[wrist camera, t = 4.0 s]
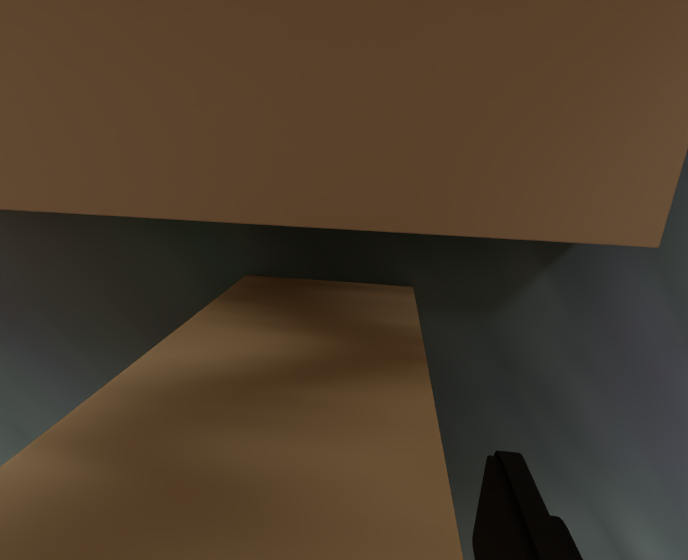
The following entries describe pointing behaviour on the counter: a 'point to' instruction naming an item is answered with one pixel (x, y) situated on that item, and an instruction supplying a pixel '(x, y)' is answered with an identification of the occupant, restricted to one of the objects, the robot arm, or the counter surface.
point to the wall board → (350, 113)
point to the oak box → (249, 440)
